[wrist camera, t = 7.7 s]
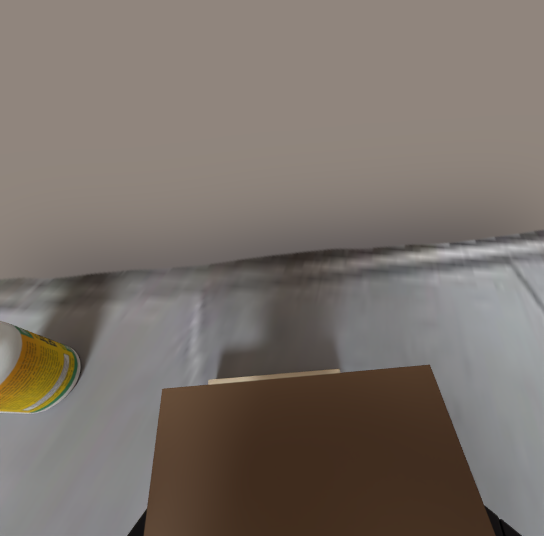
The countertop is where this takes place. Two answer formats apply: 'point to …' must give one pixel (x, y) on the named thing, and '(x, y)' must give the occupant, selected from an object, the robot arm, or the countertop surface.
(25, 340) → the supplement bottle
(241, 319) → the countertop surface
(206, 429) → the walnut block
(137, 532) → the robot arm
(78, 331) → the countertop surface
